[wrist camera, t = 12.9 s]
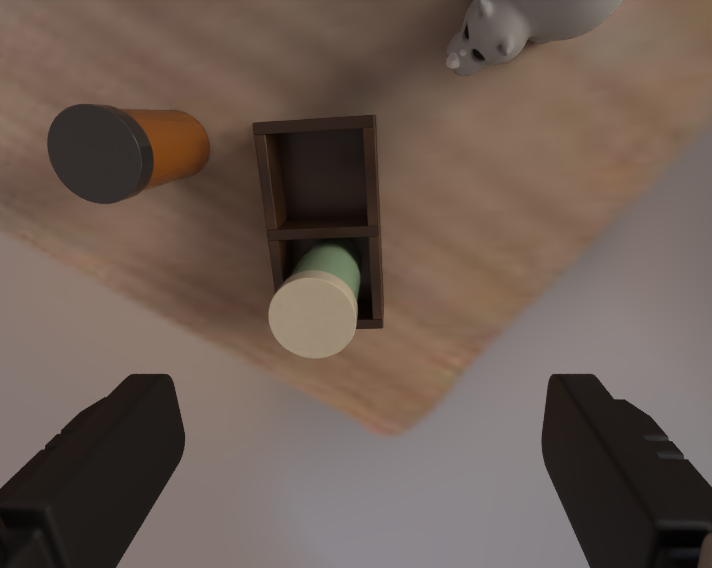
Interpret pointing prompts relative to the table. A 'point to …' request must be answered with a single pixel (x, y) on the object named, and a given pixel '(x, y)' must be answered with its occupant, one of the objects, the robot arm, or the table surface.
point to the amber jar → (124, 150)
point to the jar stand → (323, 196)
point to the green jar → (319, 300)
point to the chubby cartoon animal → (519, 28)
